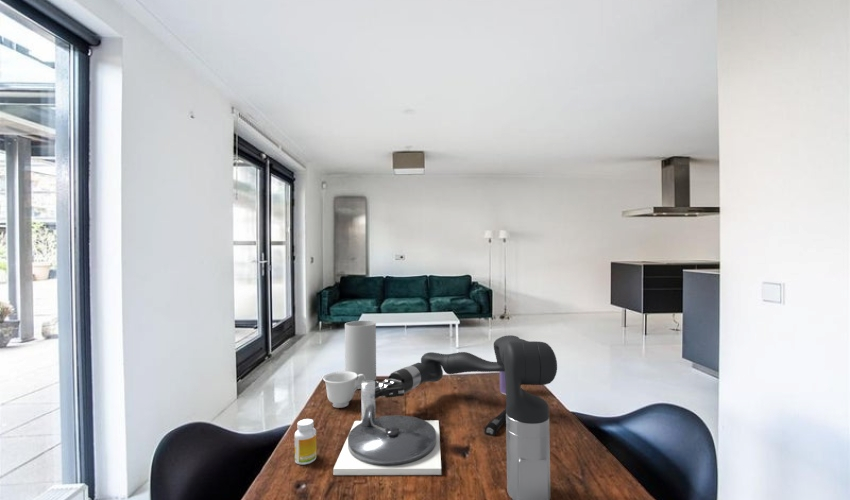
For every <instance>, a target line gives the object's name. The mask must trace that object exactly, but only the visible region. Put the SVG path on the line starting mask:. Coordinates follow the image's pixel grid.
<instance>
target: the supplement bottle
mask: <svg viewBox="0 0 850 500" xmlns="http://www.w3.org/2000/svg"><path fill="white" fill-rule="evenodd" d="M314 424H315V423H314V419H312V418H304V419H301V420H299V421H297V424H296V425H297V427H296V428H297V430H296V431H295V432H294V462H295V463H296V464H297V465H301V466H302V465H309V464H311V463H314V462H315V460H316V459H317V430H316V428H315V427H314Z"/></svg>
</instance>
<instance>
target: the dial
mask: <svg viewBox="0 0 850 500" xmlns="http://www.w3.org/2000/svg"><path fill="white" fill-rule="evenodd" d="M360 394H361V396H360V400H361V407H360V409H361V411H360V412H361V414H360V416H361V419H360V421H361V422H362V423H360V424H359V425H357V426H356V427H354V428H353V429H352V430H351V429H350V431H351V432H350V431H349V433H348V435H349V436H348V435H347V437H348V449H349V452H350V453H351V455H352V456H354V457H355V458H356V459H358V460H360V461H362V462H365V463H368V464H372V465H379V466H396V465H403V464H408V463H411V462H415V461H417V460H420V459H422V458H423V457H425V456H427V455H428V454H429V453H430V452H431V451H432V450H433V449H434V447H435V445H436V431H435V429H434V427H433V426H432V425H431V424H430V423H428V422H426V421H427V420H425V419H422V418H419V417H416V416H411V415H404V414H403V415H400V414H399V415H397V414H396V415H395V414H394V415H393V414H392V415H391V414H390V415H383V416H378V417H376V399H375V381H373V380H365V381H362V382H361V389H360Z"/></svg>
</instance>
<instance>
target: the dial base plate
mask: <svg viewBox="0 0 850 500" xmlns="http://www.w3.org/2000/svg"><path fill="white" fill-rule="evenodd" d="M425 421H426V422H428V423H430V424H431V425H432V426H433V427H434V429H435V431H436V445H435V447H434V449H433V450H432V451H431V452H430V453H429V454H428V455H427V456H425V457H423V458H422V459H420V460H417V461H415V462H411V463H408V464H403V465H396V466H379V465H372V464H368V463H365V462H362V461H360V460H358V459H356V458H355V457H354V456H352V455H351V453H350V452H349V449H348V436H349V434H348V435H347V437H346V440H345V442H344V444H343V446H342V449H341V451H340V453H339V455H338V457H337V460H336V462H335V464H334V466H333V469H332V470H333V471H332V472H333V473H332V474H333V476H436V475H437V476H442V460H441V441H440V439H441V437H440V424H439V422H440V421H439V420H436V419H435V420H431V419H430V420H425ZM360 423H362V422H361V420H355V421H354V422H353V424H352V426H351V429H350V431H349V433H350V432H351V430H352V429H353V428H354V427H356V426H357V425H359V424H360Z"/></svg>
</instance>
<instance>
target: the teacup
mask: <svg viewBox="0 0 850 500" xmlns="http://www.w3.org/2000/svg"><path fill="white" fill-rule="evenodd" d="M360 377H363V381H365V380H366V379H365V376H364V375H363V374H359V375H357V374H356V373H354V372H349V371H345V370H342V371H341V370H339V371H335V372H334V371H333V372H330V373H327V374H326V375H324V376H323V378H322V380H323V381H324V383H325V388H326V396H327V399H328V401H329V402H330V403H332V407H333V408H338V409H339V408H341V409H342V408H345V407H348V406H349V404H350V402H351V400H352V399H353V398H354V394H355V392H356V391H357V390H359V389H358V388H360V387H361V384H360V385H358V386H356V387H355V381H358V380H359V378H360Z"/></svg>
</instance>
